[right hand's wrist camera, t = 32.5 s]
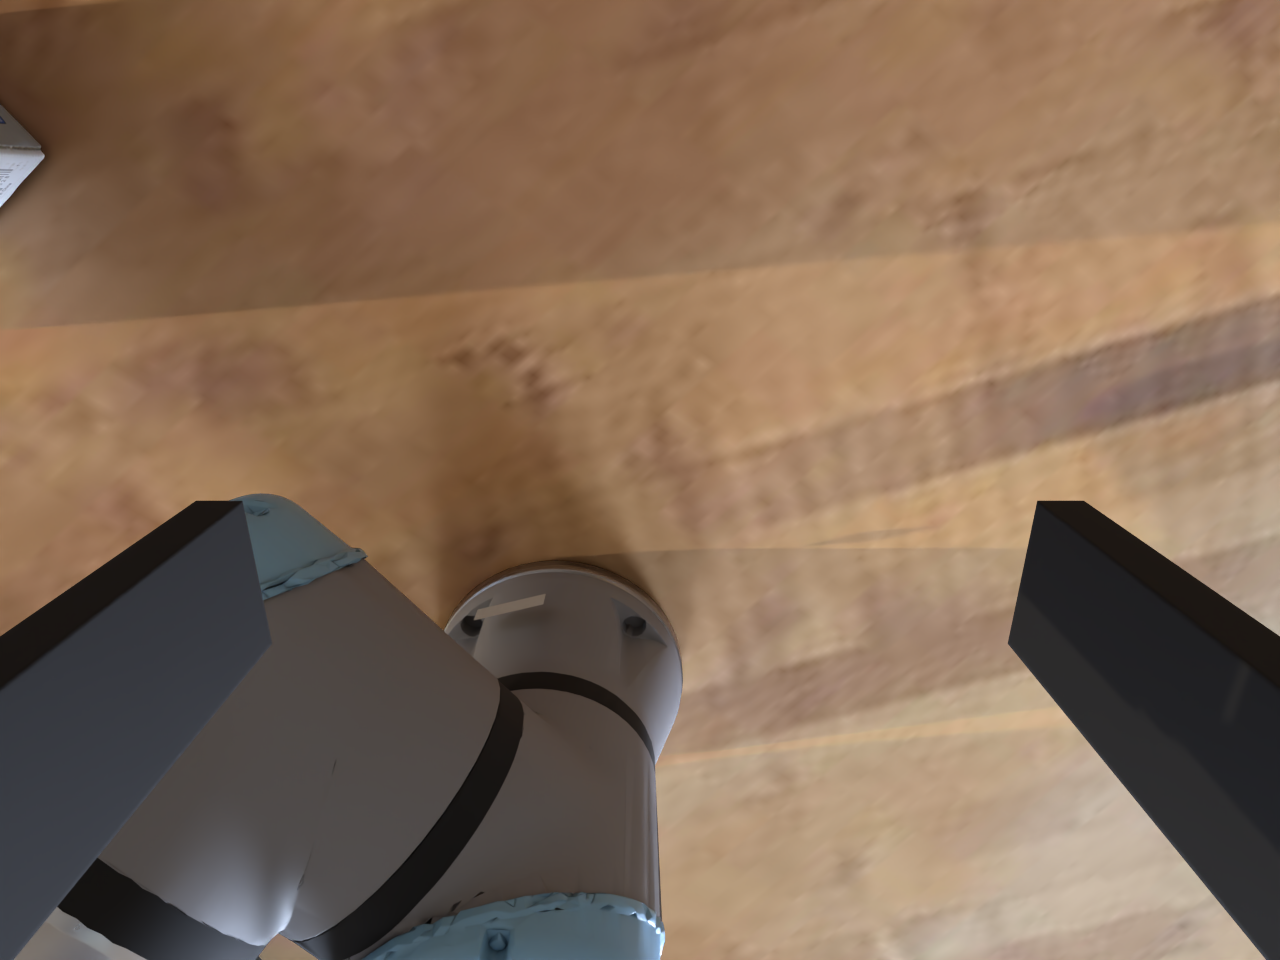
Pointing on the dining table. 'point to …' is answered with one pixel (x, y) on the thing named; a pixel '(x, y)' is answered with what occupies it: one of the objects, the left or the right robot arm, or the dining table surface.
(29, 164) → the hard drive box
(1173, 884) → the dining table surface
